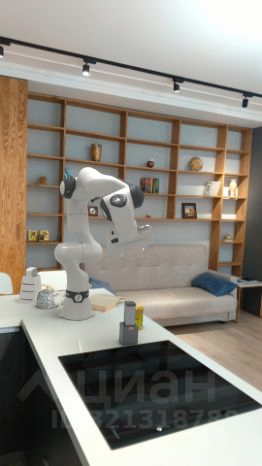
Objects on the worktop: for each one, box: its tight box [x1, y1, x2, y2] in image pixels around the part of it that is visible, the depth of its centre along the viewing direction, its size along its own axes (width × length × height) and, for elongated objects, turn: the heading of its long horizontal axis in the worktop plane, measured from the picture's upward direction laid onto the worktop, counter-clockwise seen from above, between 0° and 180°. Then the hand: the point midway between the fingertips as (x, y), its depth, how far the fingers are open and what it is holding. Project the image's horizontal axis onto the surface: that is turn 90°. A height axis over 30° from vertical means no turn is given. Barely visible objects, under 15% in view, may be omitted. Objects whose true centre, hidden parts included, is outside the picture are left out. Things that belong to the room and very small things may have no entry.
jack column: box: [122, 300, 137, 326], centre depth 149 cm, size 4×4×17 cm
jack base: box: [118, 321, 140, 347], centre depth 149 cm, size 12×14×9 cm
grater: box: [18, 266, 43, 306], centre depth 206 cm, size 10×10×20 cm
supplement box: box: [135, 305, 145, 331], centre depth 169 cm, size 6×6×11 cm
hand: (133, 255), depth 152 cm, fingers open, 8 cm apart
